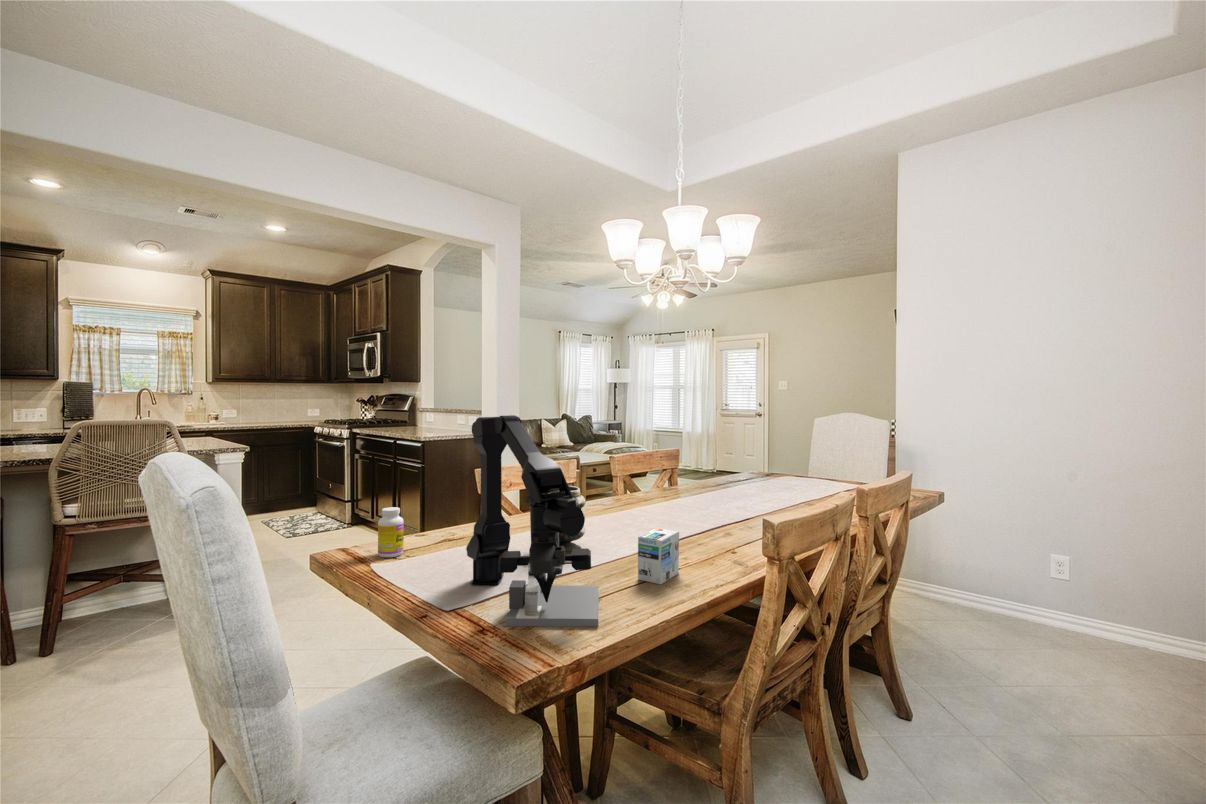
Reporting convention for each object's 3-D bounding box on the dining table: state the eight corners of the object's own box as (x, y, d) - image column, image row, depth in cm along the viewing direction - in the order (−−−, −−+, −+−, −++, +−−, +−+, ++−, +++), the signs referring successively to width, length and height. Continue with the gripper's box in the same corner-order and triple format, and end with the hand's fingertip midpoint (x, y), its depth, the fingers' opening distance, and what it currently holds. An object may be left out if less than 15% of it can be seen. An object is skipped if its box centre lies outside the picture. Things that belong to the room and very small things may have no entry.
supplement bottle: (398, 558, 148) (398, 511, 147) (373, 558, 148) (373, 511, 148) (407, 551, 154) (407, 506, 154) (384, 550, 155) (384, 506, 154)
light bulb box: (661, 585, 129) (661, 540, 129) (636, 580, 133) (636, 536, 133) (679, 572, 138) (680, 530, 138) (655, 568, 142) (656, 527, 142)
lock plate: (505, 625, 106) (505, 595, 106) (518, 591, 124) (519, 565, 124) (598, 626, 107) (598, 596, 106) (598, 592, 125) (598, 566, 124)
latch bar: (528, 587, 122) (529, 566, 122) (543, 587, 122) (543, 566, 122) (522, 614, 107) (522, 590, 107) (539, 614, 108) (539, 590, 107)
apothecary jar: (584, 555, 152) (585, 491, 151) (541, 555, 151) (542, 491, 151) (585, 543, 164) (585, 484, 163) (545, 543, 163) (545, 484, 163)
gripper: (491, 539, 103) (494, 620, 103) (590, 535, 103) (592, 616, 104) (501, 524, 114) (503, 597, 114) (589, 521, 115) (591, 594, 115)
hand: (546, 601), depth 112 cm, fingers closed
